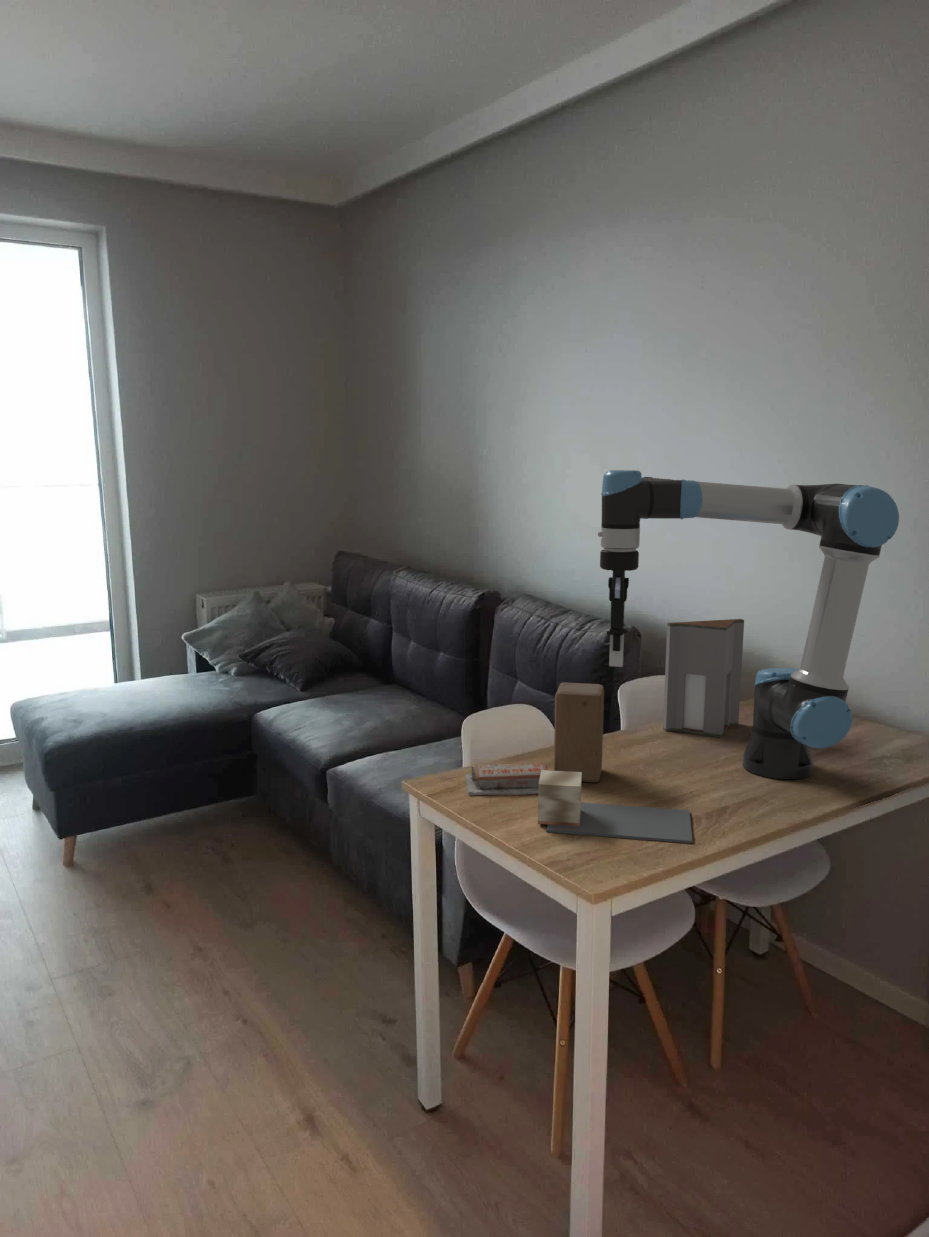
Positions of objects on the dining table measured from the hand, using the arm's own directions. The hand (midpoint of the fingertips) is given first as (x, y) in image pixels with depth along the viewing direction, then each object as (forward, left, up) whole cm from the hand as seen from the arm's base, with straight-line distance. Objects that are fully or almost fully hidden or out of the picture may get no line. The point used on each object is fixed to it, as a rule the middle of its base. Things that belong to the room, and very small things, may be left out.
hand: (616, 665), depth 190 cm
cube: (+10, +13, -20) cm, 26 cm away
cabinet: (-22, -51, -29) cm, 63 cm away
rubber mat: (-2, +12, -28) cm, 31 cm away
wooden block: (+8, -13, -29) cm, 32 cm away
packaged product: (+22, -3, -29) cm, 37 cm away
